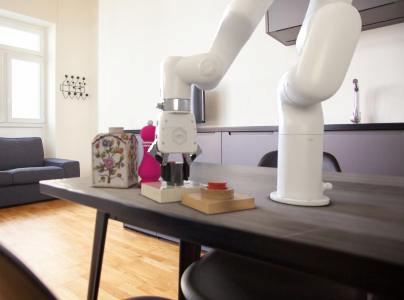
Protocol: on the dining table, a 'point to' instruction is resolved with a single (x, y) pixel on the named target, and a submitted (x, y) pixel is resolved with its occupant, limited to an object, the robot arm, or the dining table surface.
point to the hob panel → (169, 190)
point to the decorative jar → (114, 159)
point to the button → (217, 184)
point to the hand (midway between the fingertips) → (175, 179)
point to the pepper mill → (148, 156)
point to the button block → (217, 200)
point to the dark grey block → (176, 173)
